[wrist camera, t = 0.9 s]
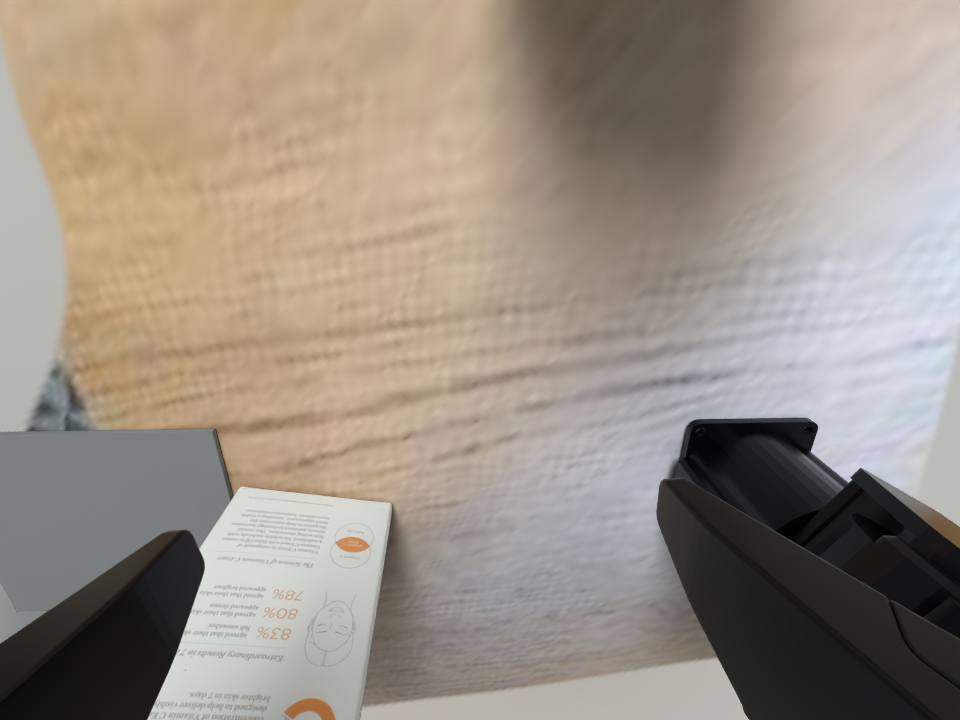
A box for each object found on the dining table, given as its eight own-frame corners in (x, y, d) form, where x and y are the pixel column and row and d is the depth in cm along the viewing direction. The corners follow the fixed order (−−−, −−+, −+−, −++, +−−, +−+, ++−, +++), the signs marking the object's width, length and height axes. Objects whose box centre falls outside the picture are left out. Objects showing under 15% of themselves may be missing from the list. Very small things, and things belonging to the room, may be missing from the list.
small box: (239, 572, 26) (54, 925, 14) (239, 482, 23) (17, 813, 11) (382, 585, 27) (328, 922, 15) (396, 500, 24) (345, 819, 12)
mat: (215, 428, 22) (212, 431, 22) (260, 600, 27) (258, 605, 27) (-76, 433, 22) (-83, 436, 22) (21, 607, 27) (16, 611, 26)
